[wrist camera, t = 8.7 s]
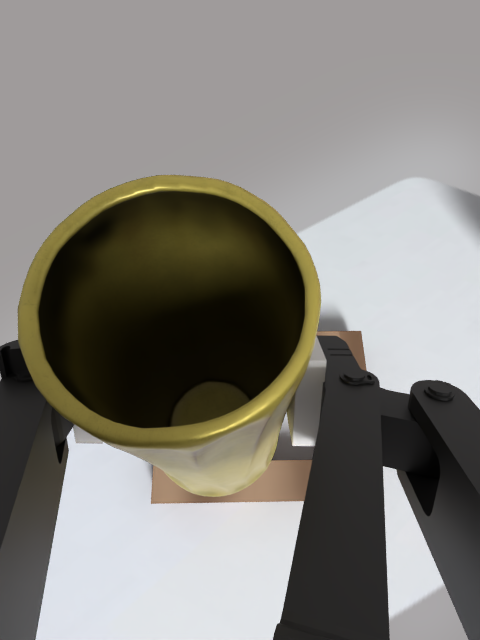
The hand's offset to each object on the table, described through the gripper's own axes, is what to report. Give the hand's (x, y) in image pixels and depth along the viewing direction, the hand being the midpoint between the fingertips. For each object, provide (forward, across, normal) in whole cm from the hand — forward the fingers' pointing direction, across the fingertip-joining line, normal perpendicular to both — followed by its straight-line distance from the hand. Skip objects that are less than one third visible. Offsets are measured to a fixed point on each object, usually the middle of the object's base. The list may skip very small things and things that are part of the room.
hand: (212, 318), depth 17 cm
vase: (+1, 0, -6) cm, 6 cm away
